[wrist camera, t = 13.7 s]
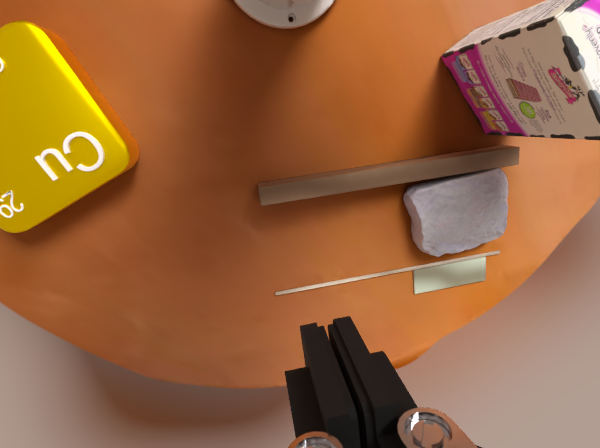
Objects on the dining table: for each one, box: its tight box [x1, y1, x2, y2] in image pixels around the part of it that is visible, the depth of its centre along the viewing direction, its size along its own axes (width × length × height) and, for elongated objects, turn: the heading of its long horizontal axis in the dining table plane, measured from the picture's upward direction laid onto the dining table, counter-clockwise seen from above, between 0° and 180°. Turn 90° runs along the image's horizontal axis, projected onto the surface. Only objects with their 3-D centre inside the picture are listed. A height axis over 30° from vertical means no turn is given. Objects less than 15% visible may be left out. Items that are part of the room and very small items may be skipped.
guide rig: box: [257, 145, 519, 295], centre depth 45 cm, size 18×30×3 cm, turn 98°
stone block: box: [403, 168, 508, 257], centre depth 46 cm, size 12×5×10 cm
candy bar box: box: [441, 0, 600, 140], centre depth 35 cm, size 11×5×16 cm, turn 39°
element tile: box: [0, 20, 140, 233], centre depth 36 cm, size 15×15×5 cm
